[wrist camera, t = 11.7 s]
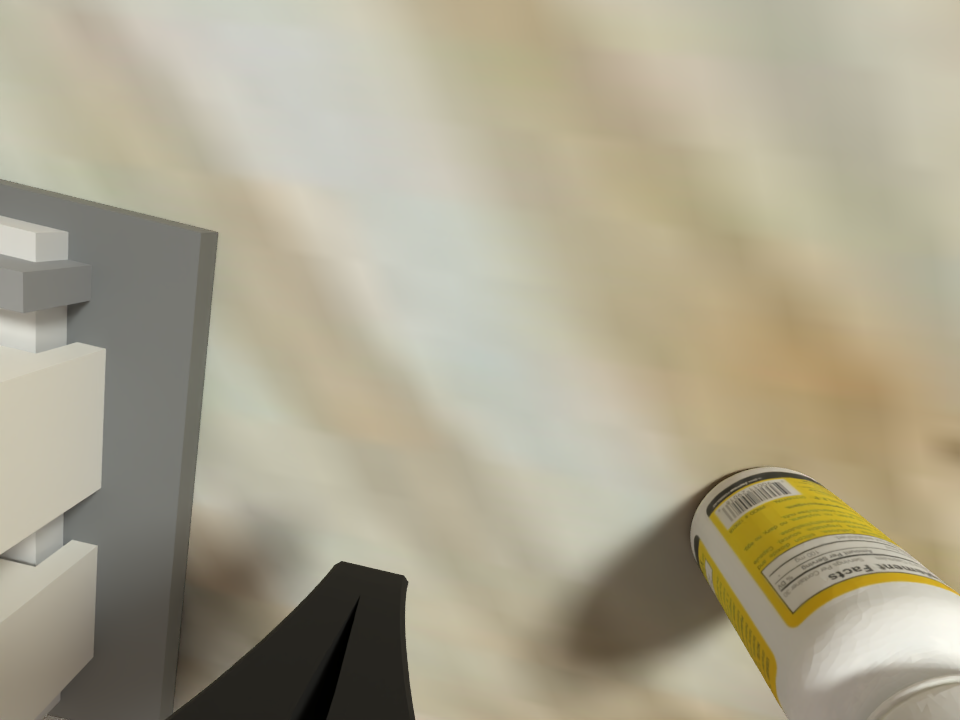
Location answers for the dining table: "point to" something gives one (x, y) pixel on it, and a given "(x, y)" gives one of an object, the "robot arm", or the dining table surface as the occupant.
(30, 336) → the rail
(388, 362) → the dining table surface
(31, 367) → the block
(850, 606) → the supplement bottle
